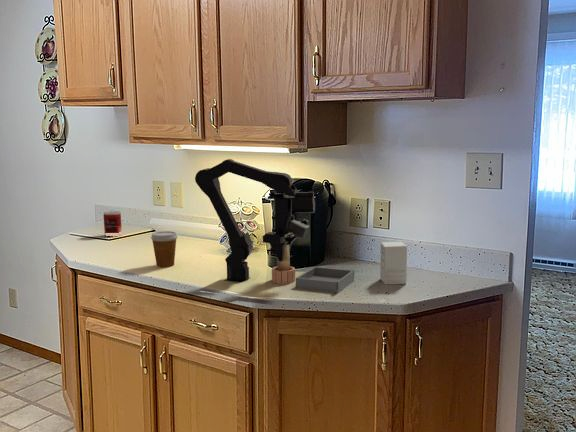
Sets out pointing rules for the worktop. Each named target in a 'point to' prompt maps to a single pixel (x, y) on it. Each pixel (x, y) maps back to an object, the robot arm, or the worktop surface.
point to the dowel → (285, 259)
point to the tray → (325, 279)
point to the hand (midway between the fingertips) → (283, 259)
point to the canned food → (112, 222)
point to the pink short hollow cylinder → (283, 276)
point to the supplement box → (393, 263)
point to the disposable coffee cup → (164, 248)
